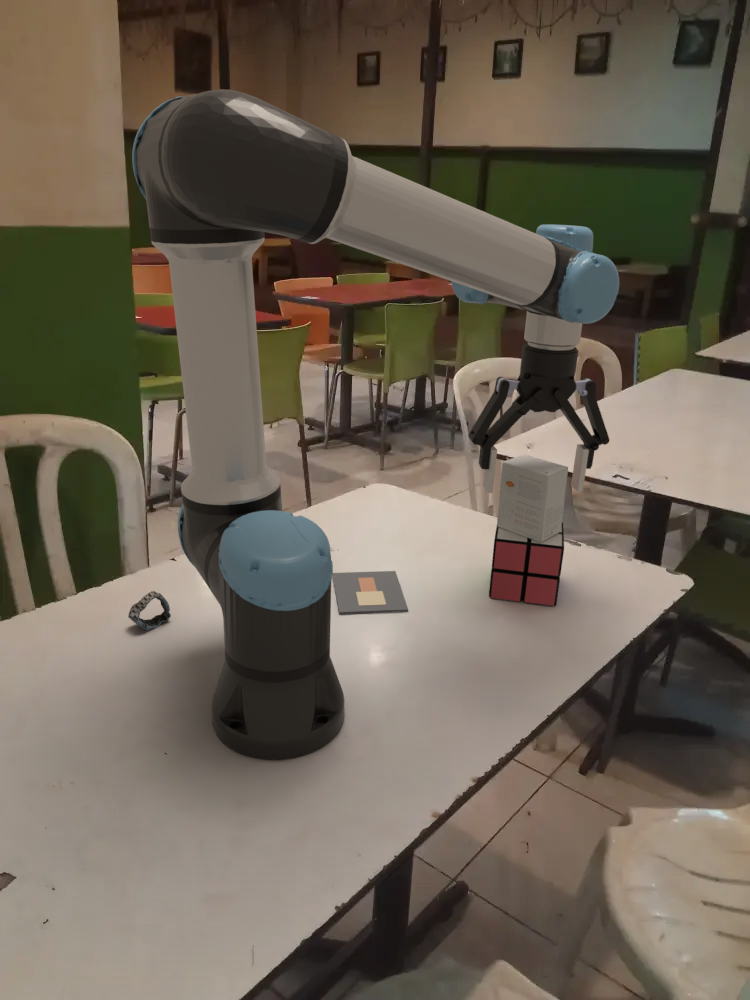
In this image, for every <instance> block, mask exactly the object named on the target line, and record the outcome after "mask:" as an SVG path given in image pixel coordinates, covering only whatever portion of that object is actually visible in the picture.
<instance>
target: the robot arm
mask: <svg viewBox="0 0 750 1000" xmlns="http://www.w3.org/2000/svg"><path fill="white" fill-rule="evenodd" d="M131 154H132V155H131V157H132V158H131V161H132V163H131V164H132V170H133V174H134V178H135V181H136V184H137V187H138V188H139V191H140V193H141V195H142V196H143V197H144V199H145V200H146V209H147V217H148V226H149V234H150V239H151V240H150V242H151V244H152V245H153V246H154V247H155V248H156V249H157V250H158V251H159V252H160V253H162V254H163V255H164V256H165V258H166V259H167V261H168V266H169V275H170V283H171V293H172V301H173V302H172V303H173V311H174V318H175V319H174V320H175V327H176V328H175V330H176V337H177V345H178V346H177V347H178V354H179V363H180V365H179V366H180V374H181V381H182V390H183V391H182V392H183V397H184V398H183V399H184V407H185V417H186V426H187V433H188V435H187V436H188V442H189V443H188V444H189V452H190V453H189V454H190V461H191V472H190V474H188V476H187V477H186V478H185V479H184V480H183V481H182V483H181V486H180V492H181V499H182V501H181V502H182V504H181V506H180V509H179V511H178V512H179V513H178V517H177V532H178V533H177V534H178V538H179V543H180V545H181V549H182V551H183V553H184V555H185V557H186V558H187V560H188V561H189V562H190V564H191V565H192V566H193V567H194V568H195V569H196V571H197V573H198V574H199V576H200V577H201V579H202V580H203V581H204V582H205V584H206V586H207V587H208V589H209V591H210V592H211V593H212V595H213V597H214V598H215V600H216V602H217V603H218V604H219V606H220V609H221V612H222V617H223V618H222V619H223V620H222V621H223V640H224V644H223V645H224V656H225V657H224V662H223V667H222V669H221V672H220V674H219V678H218V681H217V684H216V688H215V690H214V693H213V696H212V700H211V720H212V727H213V731H214V733H215V734H216V736H217V738H218V739H219V740H220V741H221V742H222V743H223V744H224V745H225V746H226V747H228V748H229V749H232V750H233V751H235V752H238V753H239V754H242V755H245V756H248V757H252V758H256V759H257V758H258V759H263V760H264V759H267V760H282V759H290V758H295V757H299V756H303V755H306V754H309V753H312V752H314V751H316V750H318V749H320V748H322V747H323V746H325V745H326V744H328V743H329V742H330V741H332V740H333V738H335V736H337V735H338V733H339V731H340V730H341V728H342V726H343V723H344V721H345V696H344V695H345V694H344V691H343V688H342V685H341V682H340V680H339V678H338V675H337V672H336V669H335V667H334V664H333V661H332V658H331V617H332V615H331V611H332V581H333V576H332V574H333V573H334V569H333V568H334V564H333V563H334V562H333V560H332V554H331V544H330V541H329V538H328V536H327V535H326V533H325V531H323V529H322V528H321V527H320V526H319V525H318V524H317V523H315V522H314V521H313V520H311V519H310V518H307V517H306V516H303V515H297V516H294V514H293V513H292V512H289V511H283V504H282V503H283V502H282V487H281V479H280V476H279V474H278V473H276V472H275V471H274V470H273V469H271V468H270V467H269V466H268V465H267V458H266V444H265V443H266V442H265V429H264V427H265V426H264V414H263V413H264V412H263V401H262V399H263V398H262V388H261V371H260V360H259V359H260V358H259V356H260V355H259V345H258V344H259V342H258V331H257V330H258V329H257V317H256V314H257V313H256V303H255V302H256V301H255V288H254V286H255V285H254V275H253V274H254V273H253V262H252V261H253V260H252V258H253V255H254V254H255V252H257V250H258V249H259V248H260V247H261V246H262V244H263V243H264V242H265V240H266V239H265V236H266V235H265V233H269V234H274V235H279V236H284V237H287V238H291V239H295V240H298V241H299V242H302V243H306V244H310V245H314V244H317V243H319V242H321V241H322V240H324V239H327V240H328V239H329V240H332V241H335V242H336V243H337V242H338V243H341V244H343V245H346V246H349V247H352V248H354V249H357V250H360V251H363V252H366V253H369V254H371V255H374V256H378V257H381V258H383V259H387V260H389V261H392V262H394V263H398V264H401V265H404V266H407V267H410V268H412V269H416V270H418V271H421V272H425V273H427V274H429V275H432V276H436V277H439V278H441V279H445V280H447V281H450V283H451V287H452V291H453V292H454V294H455V296H456V297H457V298H458V299H459V300H460V301H462V302H463V303H469V304H470V303H471V304H478V305H484V304H497V305H498V304H499V305H503V306H507V307H511V308H515V309H517V310H518V309H519V310H522V311H526V317H525V318H526V319H525V327H524V336H523V339H524V340H525V341H526V343H524V345H522V351H521V359H520V366H519V367H520V368H519V370H520V371H519V376H518V378H517V380H515V379H506V378H505V377H503V376H499V377H497V378H496V381H495V384H494V390H493V393H492V395H491V396H490V398H489V399H488V401H487V403H486V404H485V406H484V407H483V409H482V411H481V413H480V414H479V416H478V418H477V419H476V421H475V422H474V425H473V426H472V428H471V429H470V431H469V433H468V435H467V436H468V438H469V441H471V443H472V444H473V445H477V446H479V454H478V455H479V457H478V464H479V467H480V468H481V469H482V470H483V480H482V481H483V482H482V487H483V488H484V490H485V491H486V492H487V493H488V494H492V493H494V492H493V491H494V485H495V484H494V483H495V476H496V475H495V474H496V467H497V466H496V465H497V454H498V449H497V448H496V447H495V445H496V444H497V442H499V440H501V438H502V437H503V436H504V435H505V434H507V432H508V431H510V429H511V428H512V427H513V426H514V425H515V424H516V423H517V422H518V421H519V420H520V419H521V418H522V417H523V416H526V415H527V414H528V412H529V411H532V412H533V413H541V412H547V413H556V412H557V411H558V410H560V411H561V413H562V414H563V416H564V417H565V419H566V420H567V421H568V422H569V424H570V426H571V427H572V429H573V431H575V433H576V434H577V435H578V437H579V438H580V440H581V441H582V443H577V444H576V450H575V457H574V463H573V470H572V475H571V484H570V486H571V487H572V489H574V490H575V491H576V492H577V493H583V491H584V484H585V479H586V471H587V470H588V469H591V468H592V467H593V464H594V463H593V462H594V456H595V451H598V450H599V448H600V446H602V445H606V446H607V445H608V444H609V442H610V436H609V434H608V430H607V428H606V424H605V422H604V419H603V415H602V412H601V410H600V406H599V403H598V400H597V398H596V391H597V384H596V382H594V381H593V380H591V379H590V378H588V377H583V378H582V379H581V380H575V375H576V371H577V364H578V357H579V350H578V348H577V347H576V346H578V345H579V344H580V343H581V336H582V329H583V325H585V324H588V325H589V324H593V323H596V322H598V321H600V320H602V319H603V318H605V316H607V314H608V313H609V312H610V311H611V310H612V308H613V306H614V305H615V301H616V300H617V296H618V294H619V292H620V291H619V289H620V276H619V271H618V268H617V265H615V264H614V263H615V262H613V261H612V260H611V259H610V258H609V257H608V256H605V255H603V254H599V253H598V254H597V253H595V252H594V251H593V249H594V232H593V231H592V230H591V228H590V227H587V226H582V225H569V224H552V223H551V224H547V223H546V224H540V225H539V226H538V227H537V228H536V232H533V231H530V230H528V229H527V228H523V227H521V226H518V225H517V224H514V223H511V222H509V221H507V220H505V219H503V218H500V217H498V216H495V215H493V214H490V213H488V212H486V211H484V210H481V209H478V208H476V207H474V206H472V205H469V204H467V203H464V202H462V201H460V200H458V199H454V198H452V197H450V196H448V195H445V194H443V193H441V192H438V191H436V190H434V189H432V188H429V187H426V186H425V185H422V184H420V183H418V182H415V181H413V180H410V179H408V178H406V177H403V176H400V175H398V174H396V173H394V172H392V171H389V170H387V169H385V168H382V167H379V166H377V165H375V164H372V163H370V162H368V161H365V160H364V159H363V160H362V159H361V158H359V157H356V156H353V155H352V151H351V149H350V146H349V144H348V142H347V141H346V139H344V138H342V137H340V136H338V135H336V134H333V133H332V132H329V131H327V130H324V129H322V128H320V127H318V126H317V125H314V124H312V123H310V122H308V121H306V120H304V119H302V118H300V117H297V116H295V115H294V114H291V113H289V112H288V111H285V110H283V109H281V108H279V107H277V106H275V105H273V104H271V103H269V102H266V101H265V100H263V99H261V98H259V97H256V96H254V95H250V94H248V93H245V92H241V91H237V90H235V89H221V88H220V89H218V88H217V89H213V90H212V89H211V90H207V91H202V92H199V93H194V94H190V95H182V96H175V97H174V98H172V99H169V100H167V101H164V102H163V103H161V104H160V105H158V106H157V107H156V108H154V109H153V110H152V111H151V112H150V113H149V114H148V116H147V117H146V118H145V120H144V121H143V122H142V123H141V125H140V126H139V128H138V130H137V132H136V135H135V137H134V141H133V146H132V153H131ZM514 390H516V391H517V393H518V396H517V398H516V399H515V400H514V401H513V402H512V403H511V405H510V406H509V408H508V409H507V410H506V411H505V412H503V414H501V416H500V417H499V418H498V419H497V420H496V422H494V421H495V419H496V417H497V415H498V413H499V412H500V410H501V409H502V407H503V405H504V403H505V402H506V400H507V398H508V396H510V395H512V393H513V391H514ZM575 391H577V394H578V395H579V396H581V400H582V403H583V406H584V409H585V411H586V414H587V417H588V420H589V423H590V426H591V429H592V433H593V434H591V432H590V431H589V429H588V427H587V426H586V425H585V423H584V422H583V420H582V419H581V417H579V415H578V414H577V412H576V411H575V410H576V409H575V408H574V406H573V405H572V404H571V402H570V401H569V399H570V398H571V397H572V395H573V394H574V393H575ZM493 422H494V423H493ZM492 423H493V424H492Z"/></svg>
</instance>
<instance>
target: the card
mask: <svg viewBox="0 0 750 1000" xmlns="http://www.w3.org/2000/svg"><path fill="white" fill-rule="evenodd" d="M332 581H333V588H334V592H335V598H336V603H337V608H338V615H361V614H363V615H364V614H384V613H385V614H388V613H409V607H408V605H407V602H406V598H405V595H404V592H403V590H402V587H401V584H400V581H399V577H398V575H397V572H396V570H384V571H383V570H382V571H380V570H379V571H355V572H354V571H350V572H349V571H347V572H346V571H345V572H333V574H332Z"/></svg>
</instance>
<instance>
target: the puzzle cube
mask: <svg viewBox="0 0 750 1000" xmlns="http://www.w3.org/2000/svg"><path fill="white" fill-rule="evenodd" d="M564 537H565V536H564V522H563V521H562V525H561V532H559V533H557V534H555V535H554V536H552V537H550V538H548V539H546V540H544V541H543V542H538V541H535V540H532V539H529V538H527V537H524V536H521V535H519V534H516V533H513V532H510V531H508V530H505V529H502V528H499V527H497V526H496V529H495V534H494V542H493V549H492V551H493V553H492V560H491V561H492V562H491V572H490V581H489V589H488V590H489V591H488V597H489V599H492V600H499V601H500V600H501V601H508V602H514V603H521V602H523V603H524V604H531V605H537V606H538V605H539V606H545V605H546V606H547V607H553V606H554V607H557V604H558V603H557V602H558V595H559V589H560V583H561V573H562V568H563V567H562V565H563V560H564V553H565V552H564V551H565V539H564Z"/></svg>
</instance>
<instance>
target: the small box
mask: <svg viewBox="0 0 750 1000" xmlns="http://www.w3.org/2000/svg"><path fill="white" fill-rule="evenodd" d="M568 472H569V466H566V465H563V464H559V463H556V462H553V461H548V460H545V459H542V458H539V457H534V456H530V455H527V454H524V453H523V454H520V455H517V456H516V457H512V458H510V459H507V460H504V461H503V462H502V464H501V475H500V476H501V477H500V486H499V487H500V488H499V497H498V509H497V521H496V528H497V527H499V528H502V529H505V530H508V531H510V532H513V533H516V534H519V535H521V536H524V537H527V538H529V539H532V540H535V541H538V542H543V541H544V540H546V539H548V538H550V537H552V536H554V535H555V534H557V533H559V532H561V525H562V522H563V515H564V508H565V500H566V489H567V482H568Z"/></svg>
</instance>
